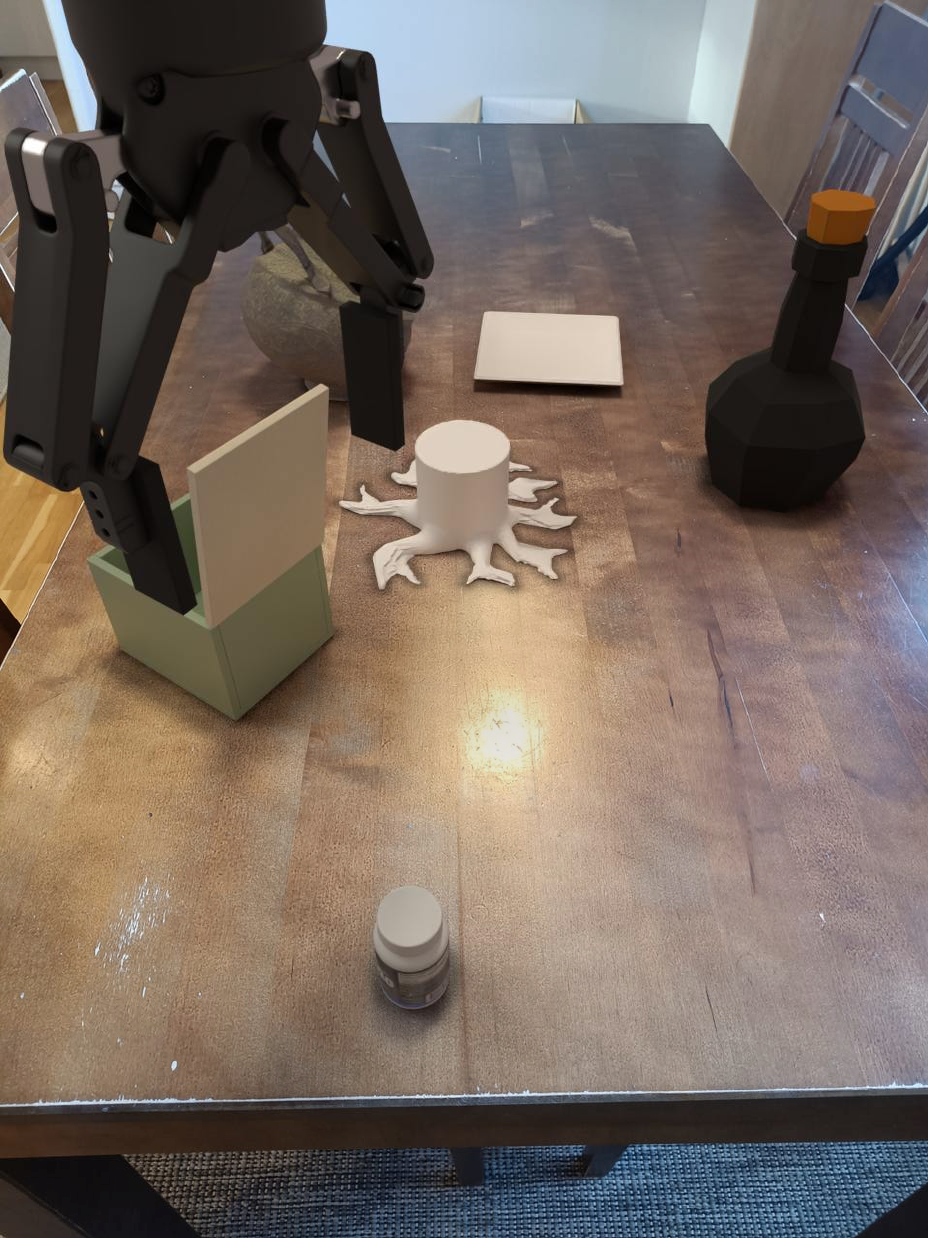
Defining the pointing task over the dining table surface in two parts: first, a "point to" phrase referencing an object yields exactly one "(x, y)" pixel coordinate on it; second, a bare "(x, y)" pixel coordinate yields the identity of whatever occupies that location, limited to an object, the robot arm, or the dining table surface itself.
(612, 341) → the plate
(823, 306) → the bottle
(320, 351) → the pot
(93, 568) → the box
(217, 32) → the robot arm
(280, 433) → the lid
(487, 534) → the white tree stump
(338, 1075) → the dining table surface
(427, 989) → the pill bottle
